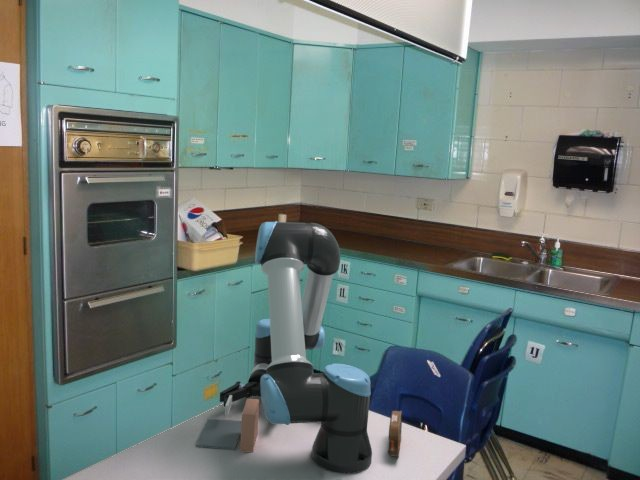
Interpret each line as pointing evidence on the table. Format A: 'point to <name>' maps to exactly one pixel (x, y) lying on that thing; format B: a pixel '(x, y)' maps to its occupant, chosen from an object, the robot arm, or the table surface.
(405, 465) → the table surface
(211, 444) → the mat
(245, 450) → the block
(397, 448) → the tin
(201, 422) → the table surface
